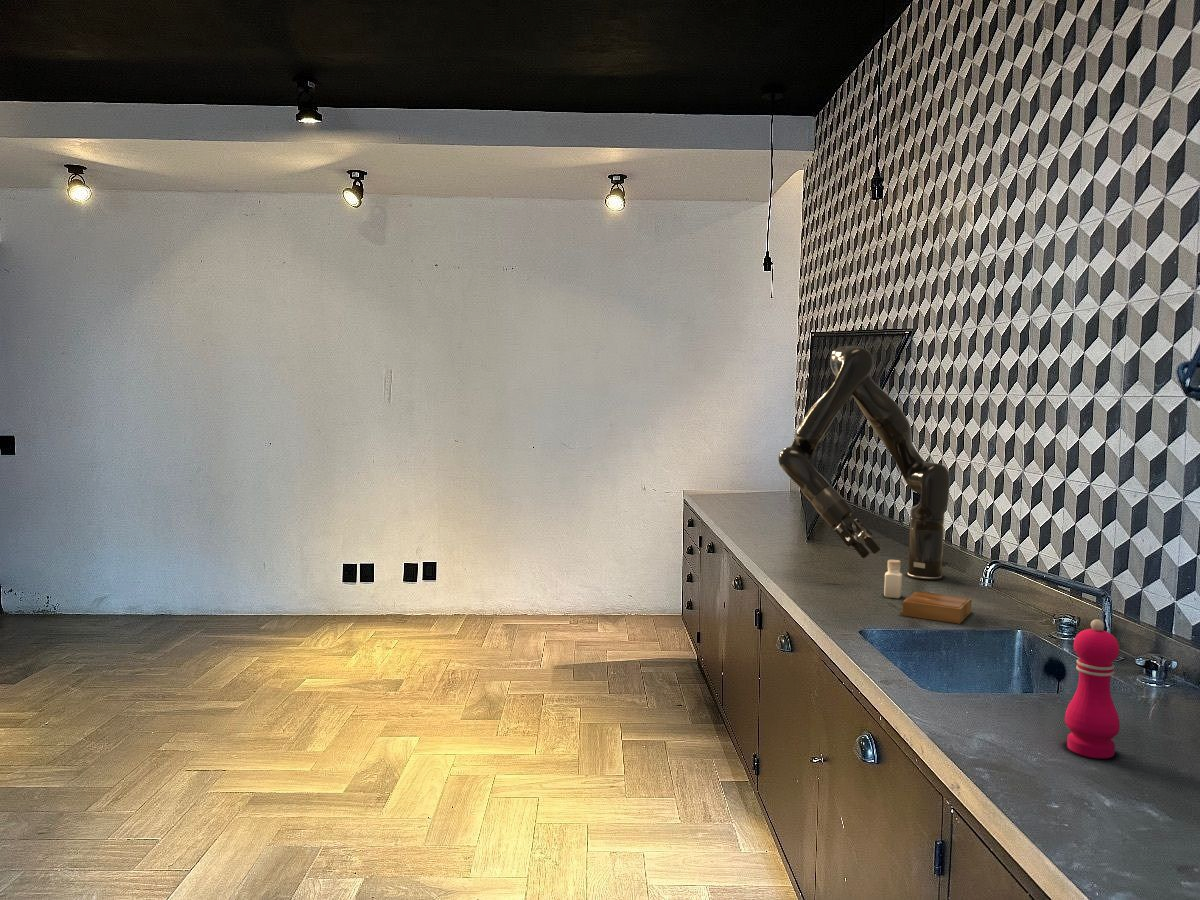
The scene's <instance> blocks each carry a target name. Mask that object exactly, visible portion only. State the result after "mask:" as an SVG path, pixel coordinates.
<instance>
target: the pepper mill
mask: <svg viewBox="0 0 1200 900" xmlns="http://www.w3.org/2000/svg"><path fill="white" fill-rule="evenodd" d="M1104 629H1105V623H1104V622H1103V621H1102V620H1101V619H1098V618H1096V619H1093V620H1091V622H1090V628H1087V629H1083V630H1081V631H1080V632H1078V633H1077V634H1076V636H1075V638H1074V640H1073V650H1074V653H1075V654H1076V656H1077V657H1078V659H1076V666H1075V669H1076V670H1077V671H1078V683H1077V687H1076V690H1075V693H1074V695H1073V697H1072V698H1071V700H1070V702H1069V703H1068V705H1067V707H1066V710H1065V716H1064V722H1065V725H1066V727H1067V728H1068V729H1069V730H1070V733H1068V734H1067V738H1066V739H1067V740H1066V741H1067V742H1066V747H1067V748H1068V750H1069V751H1071V752H1072V753H1074V754H1077V755H1079V756H1083V757H1086V758H1090V759H1096V760H1097V759H1099V760H1100V759H1102V760H1104V759H1110V758H1113V757H1114V756H1115V753H1116V750H1115V749H1116V743H1115V741H1114V740H1113V738H1115V737H1116V736H1117V735H1118V734H1119V732H1120V729H1121V728H1120V718H1119V713H1118V710H1117V709H1116V706H1115V703H1114V700H1113V698H1112V693H1111V677H1112V676H1113V675H1115V671H1114V670H1115V667H1116V665H1115V664H1114V663H1113V662H1115V660H1117V659H1118V658H1119V655H1120V644H1119V642H1118V640H1117V637H1115V635H1113V634H1112V633H1110V632H1109V631H1106V630H1104Z"/></svg>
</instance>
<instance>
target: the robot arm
mask: <svg viewBox="0 0 1200 900" xmlns="http://www.w3.org/2000/svg"><path fill="white" fill-rule="evenodd" d="M829 365H830V369H831V371H832V373H833V374H834V376H835V380H834V381H833V382H832V385H831V386H830V387H829V389H828V390H827V391H825V393H824V394H823V395H822V396H821V397H820V398H819V399H818V400H817V401H816V402H815V403H814V404H813V405H812V406H811V407H810V409H808V411H807V413H806V414H805V415H804V416H803V419H802V421H801V422H800V424H799V425H798V427H797V429H796V430H795V434H794V435H795V436H794V439H793V440H792V443H791V445H790V446H788V447H785V448H783V449H782V450H781V451H780V452H779V454H778V464H779V467H780V468H781V470H783V472H784V473H785V474H786V475H787V476H788V477H789V478H790V479H791V480H792V481H793V482H794V483H795V484H796V485H797V487H798V488H799V489H800V491H801V492H802V494H803V495H804V497H806V499H807V500H808V501H809V502H810V503H811V504H812V506H813V508H814V509H815V511H816V512H817V513H818V515H820V516H821V518H822V519H823V520H824V521H825V522H826V523H827V525H828V526H829V527H830V528H831V529H833V531H834V532H835V533H836V534H837V535H838V536H839V538H840V539H841V540H842V541H843V542H844V544H845V545H846V546H847V547H851V548H852V549H854V550H855V551H856V552H857V554H858V555H859V556H860V558H862V559H865V558H867V557H868V556H869V555H870V551H871V553H872V554H874V555H875V554H877V553H878V552H879V551H881V547H880V546H879V544H877V542H876V541H875V540H874V539H873V533H872V532H871V530H870V529H869V528H868V527H867V526H866V525H865V524H864V523H863V521H862V520H861V519H860V518H858V517H857V518H855V519H854V518H853V517H852V515H853V514H854V509H853V508H852V507H851V505H850V504H849V503H848V502H847V501H846V500H845V498H844V497H843V496H842V495H841V494H840V493H839V492H838V491H837V490H836V489H835V488H834V487H833V486H832V485H831V484H830V483H829V482H828V480H827V479H826V478H825V476H823V475H822V474H821V472H818V470H816V468H815V466H813V464H812V463H811V460H812V457H813V456H814V453H815V451H816V449H817V446H818V445H819V443H821V440H822V439H823V437H824V436H825V434H826V433H827V430H828V429H829V428H830V426H831V424H832V423H833V421H834V419H835V418H836V416H837V415H838V413H840V411H841V409H843V407H844V405H845V404H846V403H847V401H848V400H849V399H850V398H851V397H852V398H853V399H854V401H855V402H856V404H857V405H858V408H859V409H860V411H861V412H862V413H863V415H864V416H865V418H866V420H867V421H868V423H869V424H870V426H871V428H872V430H873V431H874V432H875V434H876V435H877V437H878V438H879V439H880V441H881V442H882V444H883V445H884V447H885V448H886V450H887V451H888V453H889V455H891V457H892V459H893V460H894V462H895V464H896V465H897V467H898V469H899V471H900V474H901V475H902V477H903V480H904V481H905V483H906V485H907V486H908V487H909V488H910V490H911V491H913V492H915V493H918V494H920V499H919V502H918V504H916V505H913V506H912V507H911V508H910V511H909V535H908V536H909V537H908V559H907V575H906V576H908V577H909V578H913V579H918V580H926V581H927V580H928V581H935V580H941V579H942V578H943V575H942V574H943V553H944V552H943V551H944V533H945V530H944V529H945V514H946V511H947V509H948V507H949V506H948V505H949V497H950V488H951V487H950V485H951V478H950V477H951V476H950V473H949V470H948V468H947V467H946V466H945V465H943V464H941V463H937V462H930V461H926V460H924V458H923V457H922V456H921V455H920V454H919V452H918V450H917V449H916V447H915V446H914V445H915V444H913V437H912V427H911V424H910V421H909V420H908V418H907V416H906V415H905V413H904V412H903V410H902V408H901V407H900V405H899V404H897V402H896V401H895V400H894V399H893V398H892V397H891V396H890V395H889V394H888V393H886V391H884V390H883V389H882V388H881V387H880V386H879V385H878V384H876V382H875V381H874V380H873V378H872V377H871V375H870V373H871V371H872V370H873V366H874V358H873V356H872V353H871V352H870V351H869V350H868V349H866V348H864V347H860V346H852V345H843V346H840V347H837V348H835V350H833V351H832V353H831V355H830V360H829ZM863 543H864V544H865V545H864V544H863ZM867 548H868V549H867ZM869 550H870V551H869Z"/></svg>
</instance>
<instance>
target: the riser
mask: <svg viewBox="0 0 1200 900" xmlns="http://www.w3.org/2000/svg"><path fill="white" fill-rule="evenodd" d="M971 613H972V598H971V597H964V596H956V595H949V594H943V593H942V594H941V593H933V592H925V591H915V592H914V593H912V594H911V595H910V596H908V597H907V598H905V599H904V600H903V601H902V616H904V617H910V618H916V619H917V618H918V619H924V620H931V621H937V622H944V623H950V624H958V625H960V624H962V622H963V621H964V620H965V619H966V618H968V616H969V615H970V614H971Z"/></svg>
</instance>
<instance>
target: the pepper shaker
mask: <svg viewBox="0 0 1200 900" xmlns="http://www.w3.org/2000/svg"><path fill="white" fill-rule="evenodd" d="M901 564H902V561H901V560H899V559H887V571H886V572H885V573H884V588H883V589H884V590H883V595H884V597H885V598H887V599H900V598H901V596H902V594H903V573H902V572H901Z"/></svg>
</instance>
